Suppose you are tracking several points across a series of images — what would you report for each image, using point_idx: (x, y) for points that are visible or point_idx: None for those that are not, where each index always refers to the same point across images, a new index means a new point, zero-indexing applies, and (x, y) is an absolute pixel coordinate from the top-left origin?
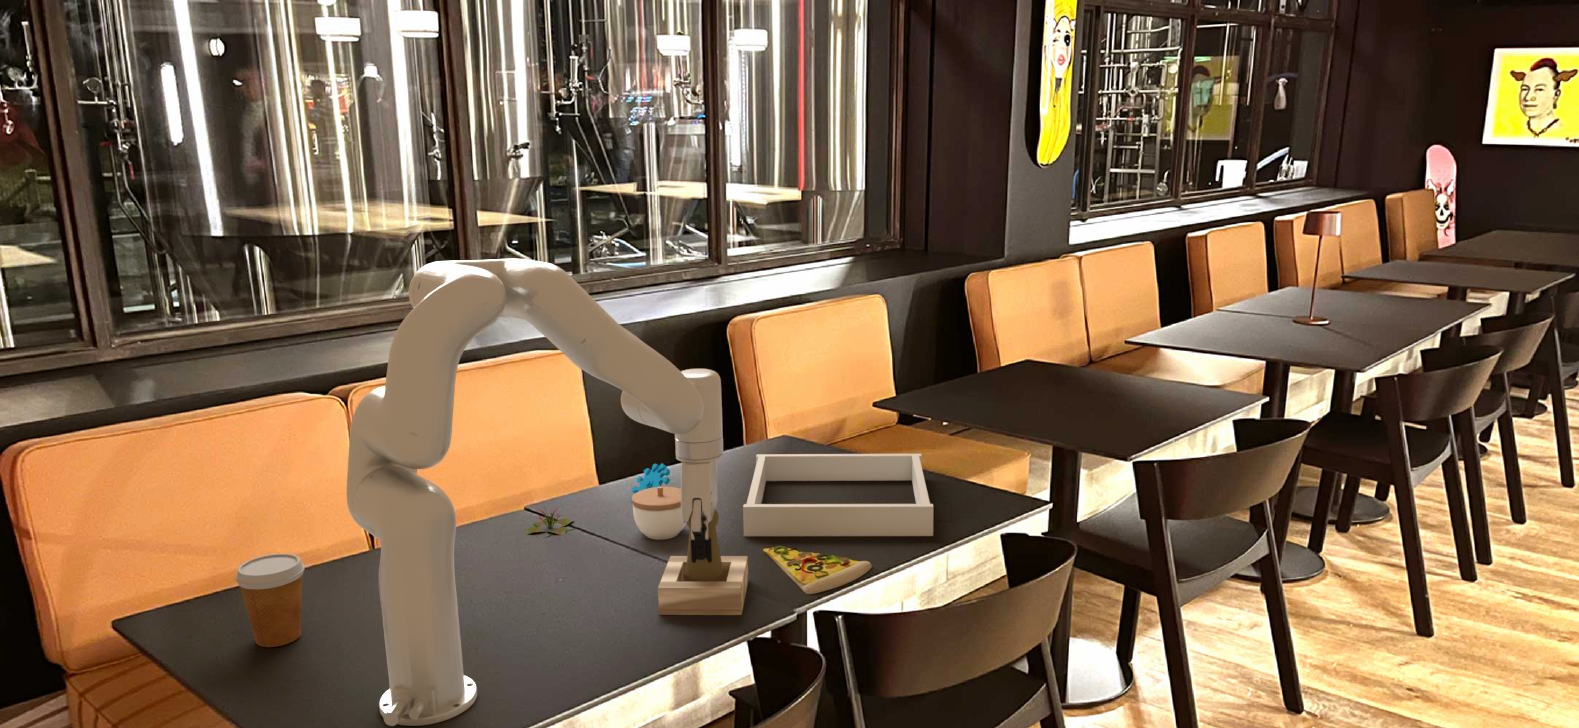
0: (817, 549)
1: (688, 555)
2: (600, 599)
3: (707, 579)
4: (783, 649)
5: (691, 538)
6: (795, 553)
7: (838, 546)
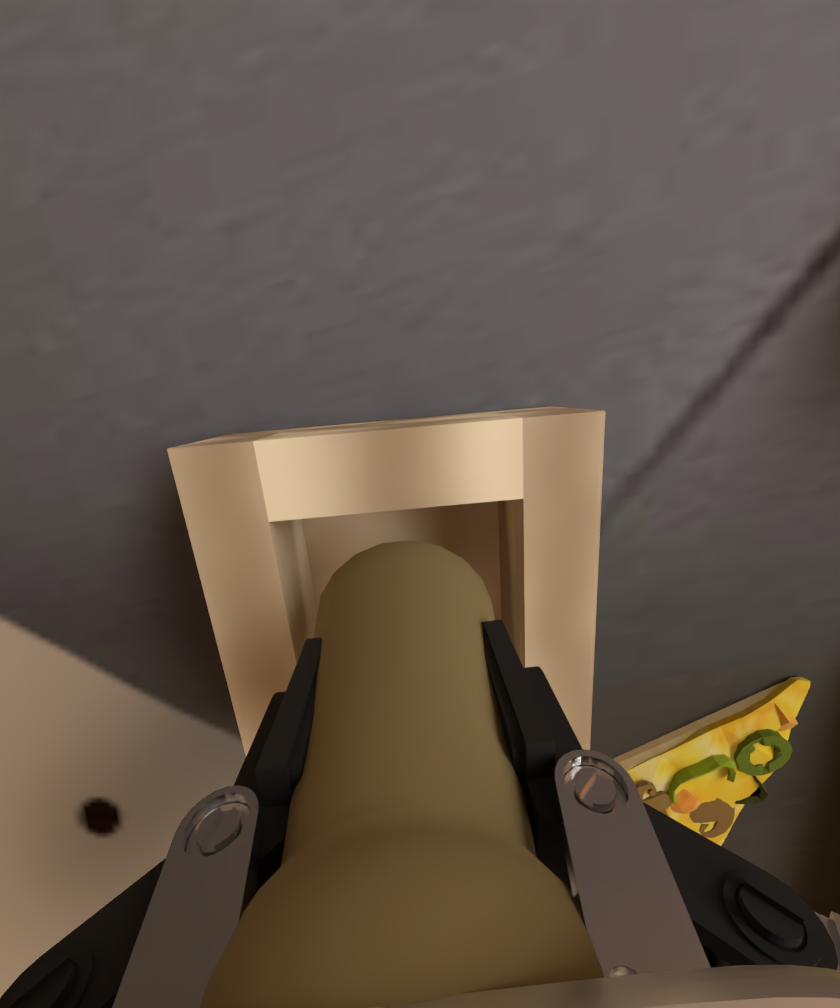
0: (786, 810)
1: (351, 620)
2: (338, 100)
3: (502, 570)
4: (97, 831)
5: (182, 822)
6: (729, 792)
7: (799, 854)
